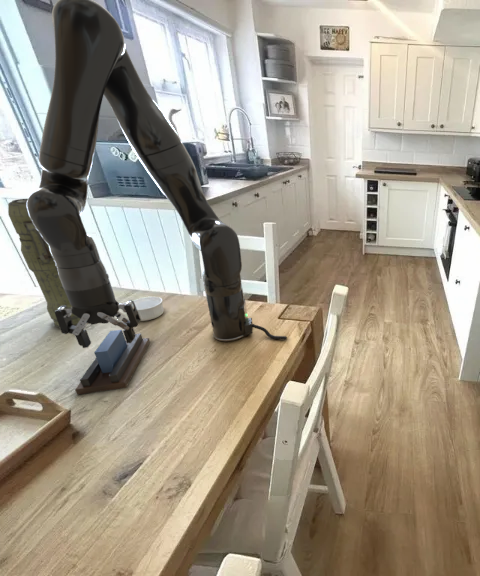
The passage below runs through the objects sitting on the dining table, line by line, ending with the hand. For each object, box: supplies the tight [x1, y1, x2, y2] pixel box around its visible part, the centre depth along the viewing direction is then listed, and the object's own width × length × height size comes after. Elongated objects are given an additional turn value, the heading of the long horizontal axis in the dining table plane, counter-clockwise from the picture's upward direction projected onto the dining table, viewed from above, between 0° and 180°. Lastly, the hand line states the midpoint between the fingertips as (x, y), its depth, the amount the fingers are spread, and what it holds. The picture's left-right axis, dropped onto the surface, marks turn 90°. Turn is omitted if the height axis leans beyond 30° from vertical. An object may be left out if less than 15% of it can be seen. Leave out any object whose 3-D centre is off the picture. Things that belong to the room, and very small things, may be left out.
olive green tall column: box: [7, 198, 80, 329], centre depth 88 cm, size 9×12×35 cm
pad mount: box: [74, 333, 151, 395], centre depth 79 cm, size 9×18×4 cm, turn 18°
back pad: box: [94, 329, 127, 373], centre depth 78 cm, size 2×9×6 cm, turn 18°
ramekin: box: [133, 295, 164, 322], centre depth 100 cm, size 9×9×4 cm
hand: (109, 343), depth 77 cm, fingers open, 8 cm apart
